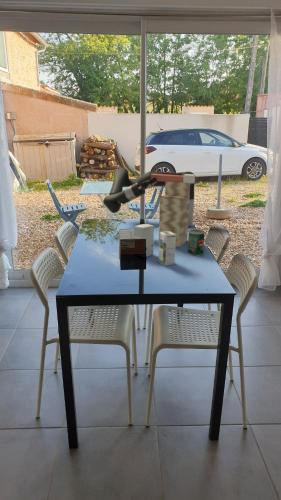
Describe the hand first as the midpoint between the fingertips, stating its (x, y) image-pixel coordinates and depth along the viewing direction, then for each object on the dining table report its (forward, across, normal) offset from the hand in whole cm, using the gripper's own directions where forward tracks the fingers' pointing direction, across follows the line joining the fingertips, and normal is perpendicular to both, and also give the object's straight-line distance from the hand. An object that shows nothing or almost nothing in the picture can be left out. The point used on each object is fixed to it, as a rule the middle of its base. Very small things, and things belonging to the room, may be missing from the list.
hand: (158, 177), depth 199 cm
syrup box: (-2, +36, -38) cm, 52 cm away
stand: (-8, +4, -34) cm, 35 cm away
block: (+6, -1, -5) cm, 8 cm away
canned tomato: (+5, +16, -42) cm, 45 cm away
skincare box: (-14, +29, -31) cm, 45 cm away
